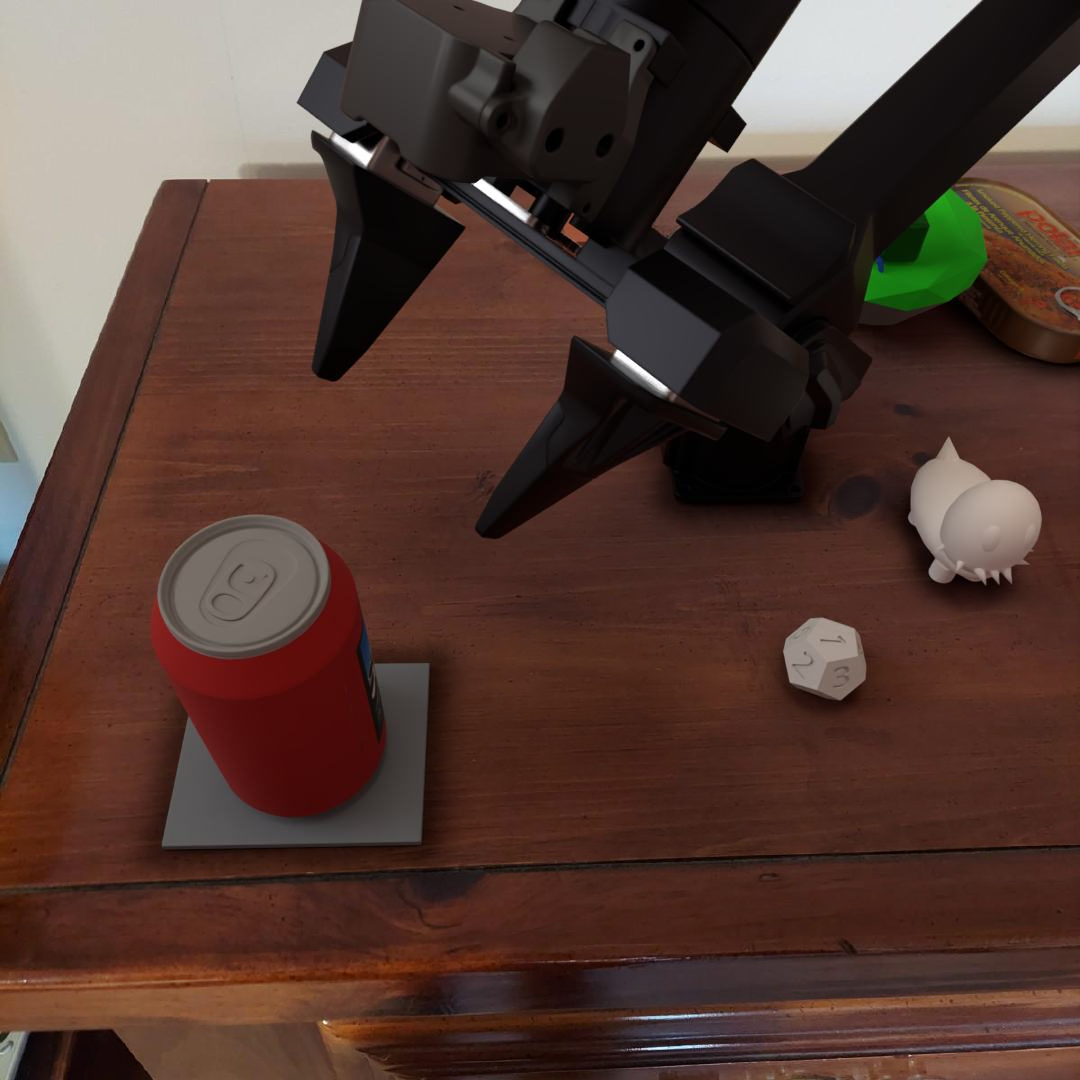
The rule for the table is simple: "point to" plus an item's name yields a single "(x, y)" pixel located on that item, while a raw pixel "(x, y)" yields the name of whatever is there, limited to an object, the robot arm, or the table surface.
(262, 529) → the beverage can
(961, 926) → the table surface
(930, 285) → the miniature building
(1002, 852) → the table surface
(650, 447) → the robot arm
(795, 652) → the game die
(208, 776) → the grey mat
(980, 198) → the tin
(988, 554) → the toy creature
